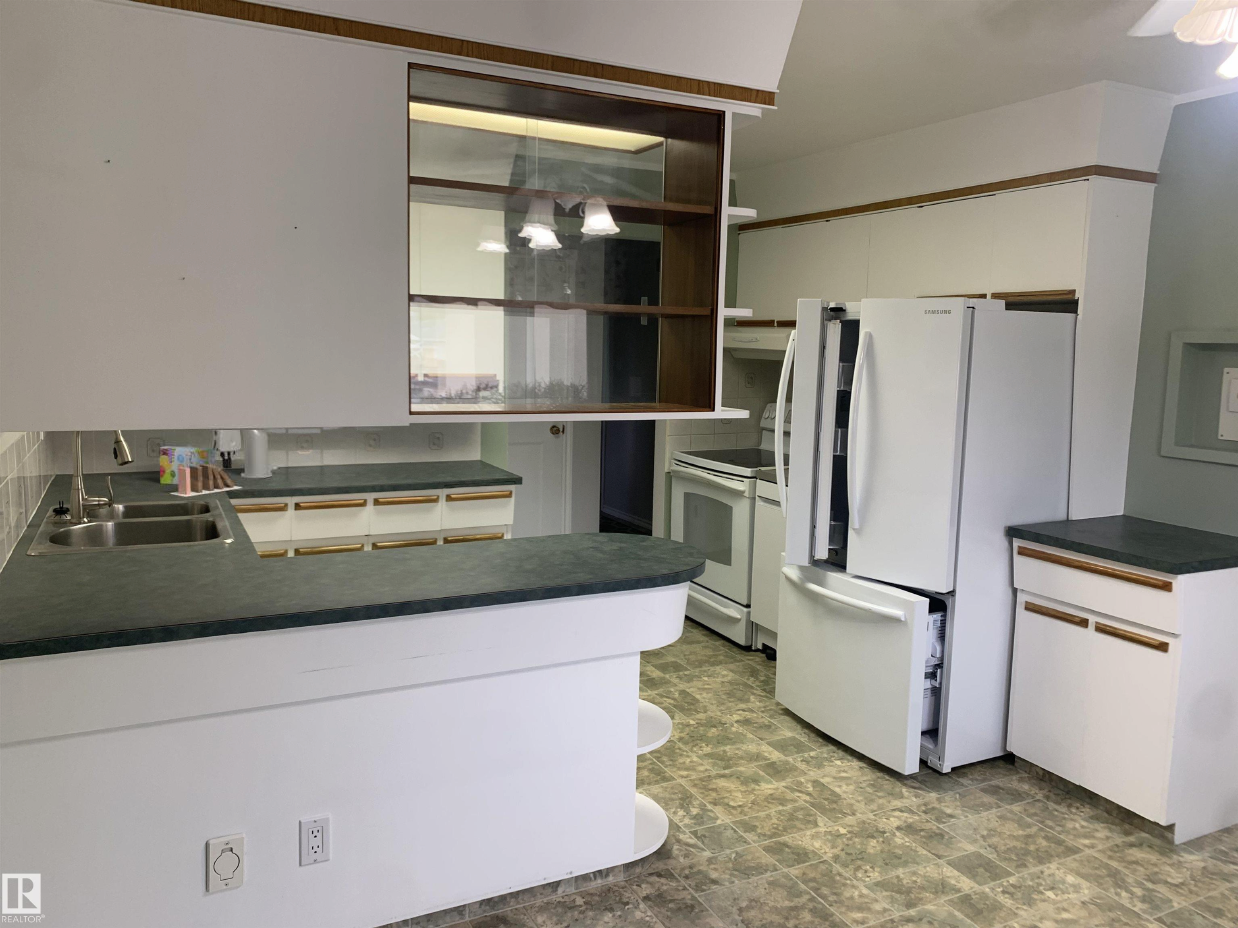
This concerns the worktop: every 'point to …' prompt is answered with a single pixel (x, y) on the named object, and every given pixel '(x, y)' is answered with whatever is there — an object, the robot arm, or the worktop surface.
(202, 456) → the snack box
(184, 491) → the domino
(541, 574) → the worktop surface
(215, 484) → the domino
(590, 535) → the worktop surface
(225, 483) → the domino
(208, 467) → the domino
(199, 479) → the domino
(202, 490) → the domino mat
